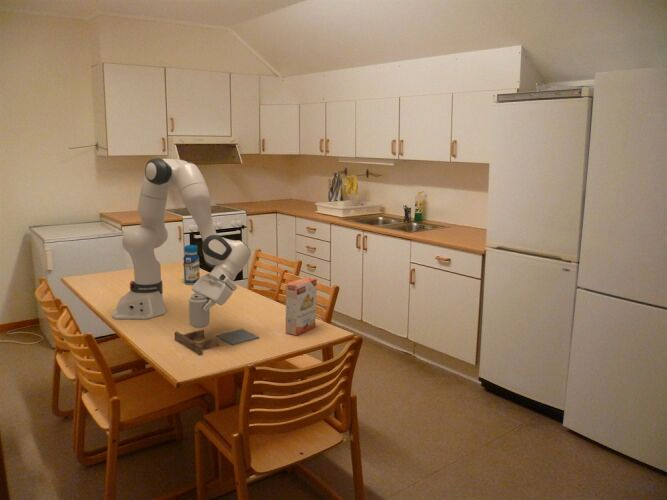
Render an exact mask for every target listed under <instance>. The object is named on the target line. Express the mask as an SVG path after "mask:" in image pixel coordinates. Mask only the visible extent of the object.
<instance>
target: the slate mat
mask: <svg viewBox="0 0 667 500" xmlns="http://www.w3.org/2000/svg"><path fill="white" fill-rule="evenodd" d="M216 337H217V338H218V339H220V340H222V341H223V342H226V343H228V344H230V346H231V345H232V346H235V345H239V344H243V343H246V342H251V341H254V340H259V339H260V336H258V335H256V334H254V333H253V332H250V331H248V330H246V329H244V328H240V329H236V330H232V331H228V332H223V333H221V334H220V333H219V334H216ZM216 337H215V338H216Z"/></svg>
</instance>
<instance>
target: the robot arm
mask: <svg viewBox="0 0 667 500" xmlns="http://www.w3.org/2000/svg"><path fill="white" fill-rule="evenodd" d="M144 175H145V176H144V178H143V180H142V184H141V186H140V187H141V188H140V192H139V198H138V204H137V212H138V214H139V215H140V226H137V227H133V228H131V229H130V230H128V231H127V232H126V233H124V235H123V237H122V240H121V244H122V247H123V249H124V251H126V252H127V253H128V254H129V256H130V259H131V262H132V266H133V275H134V278H133V279H134V280H131V281H130V282H129V291H128V292H127V293H125V294H124V295H123V296H122V297H120V299H119V300H118V302H117V308H115V309H114V310H112V312H111V313H112V314H111V317H112V319H116V320H119V319H120V320H121V319H122V320H124V319H125V320H150V319H152V318H155V317H159V316H161V315H164V314H166V312H167V309H166V306H165V303H164V297H163V293H164V285H163V280H162V275H161V274H162V271H161V263H160V261H158V259H157V258H156V255H155V251H154V250H155V249H157V248H160V247H161V246H162V245H164V243H165V242H166V241H167V240H168V238H169V232H168V230H167V227H166V225H165V212H166V207H167V202H168V201H167V200H168V195H169V190H170V187H173V186H175V187H177V189H178V193H179V195H180V199H181V200H182V202H183V204H184V206H185V207H186V209H187V211H188V213H189V214H190V215H191V217H192V219H193V221H194V222H195V224H196V227H197V228H198V229H197V230H198V231H199V235H200V237H201V240H202V245H201V246H202V253H203V260H204V262H205V264H206V266H208V267H210V268H212V270H211V271H210V272H209V273H206V274H204V275H202V276H200V278H199V279H198V280H197V282H196V283H195V284H194V285H191V291H193V293H194V294H196V293H200V294H201V295H204V296H206V297H208V298H209V302H208V303H207V304H206V305H204V306H203V307H202V309H203V310H204V311H207V310H208V309H209V310H210V309H211V308H212V307H213V306H215V305H219V306H223V305H225V303H227V301H229V300H230V298H231V296H232V294H233V292H235V291H237V289H238V286H237V285H236V283H235V282H234V281H235V279H236V277H237V275H238V274H239V273H240V272H242V271H243V269H244V268H245V267H246V265H247V263H248V262H249V260H250V258H251V256H252V255H251V254H252V253H251V250H250V248H249V247H248V245H247V244H246V243H245V242H244V241H242V240H238V239H237V240H233V239H228V238H225V237H223V236H221V235H218V233H217V231H216V228H215V225H214V223H213V218H212V217H213V216H212V201H211V196H210V192H209V191H210V190H209V187H208V185H207V182H206V181H205V177H204V176H203V174H202V172H201V170H200V169H199V167H198V166H197V165H196V164H194V163H193V162H192V161H189V160H185V159H184V160H183V159H177V158H159V157H157V158H153V159H150V160H148V161H147V163H146V164H145V168H144Z"/></svg>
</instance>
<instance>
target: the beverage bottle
mask: <svg viewBox="0 0 667 500" xmlns="http://www.w3.org/2000/svg"><path fill="white" fill-rule="evenodd" d="M198 249H199V248H198V245H196V244H187V245H184V249H183V251H184V253H185V254H184V255H183V257H182V259H183V263H182V265H183V277H184V278H183V283H184V284H185V285H188V286H189V285H191V286H193V285H194V284H195V283H196V282H197V280H198V279H199V278H200V277H201V276H200V256H199V254H198Z"/></svg>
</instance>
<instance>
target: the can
mask: <svg viewBox="0 0 667 500" xmlns="http://www.w3.org/2000/svg"><path fill="white" fill-rule="evenodd" d="M208 302H209V298H208V297H206V296H204V295H201V294H200V293H196V294H195V293H192V294H191V295H190V297H189V299H188V308H189V309H188V310H189V311H188V312H189V313H188V316H189V318H188V322H189V326H191V328H195V329H204V328H206V327H208V326H209V325H210V320H211V319H210V314H211V313H210V308H209V309H208V310H207V311H204V310H203V309H202V307H203V306H204V305H206V304H207V303H208Z"/></svg>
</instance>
